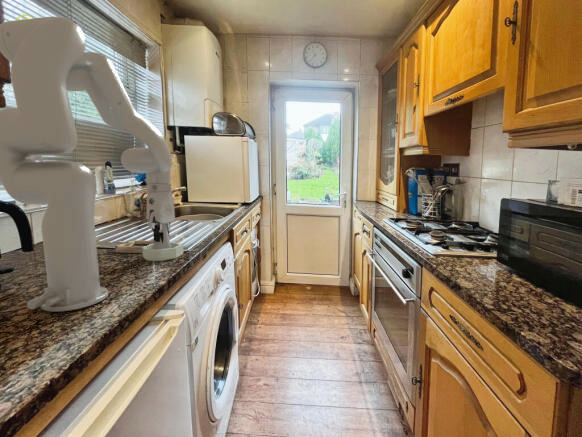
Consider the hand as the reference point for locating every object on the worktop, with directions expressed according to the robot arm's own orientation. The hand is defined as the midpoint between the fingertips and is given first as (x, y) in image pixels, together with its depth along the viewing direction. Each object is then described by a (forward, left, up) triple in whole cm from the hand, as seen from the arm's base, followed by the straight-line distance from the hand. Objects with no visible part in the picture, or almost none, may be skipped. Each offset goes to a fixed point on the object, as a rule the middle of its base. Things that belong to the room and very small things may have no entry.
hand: (161, 242), depth 102 cm
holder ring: (0, 0, -5) cm, 5 cm away
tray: (+7, +13, -5) cm, 16 cm away
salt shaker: (0, 0, -5) cm, 5 cm away
